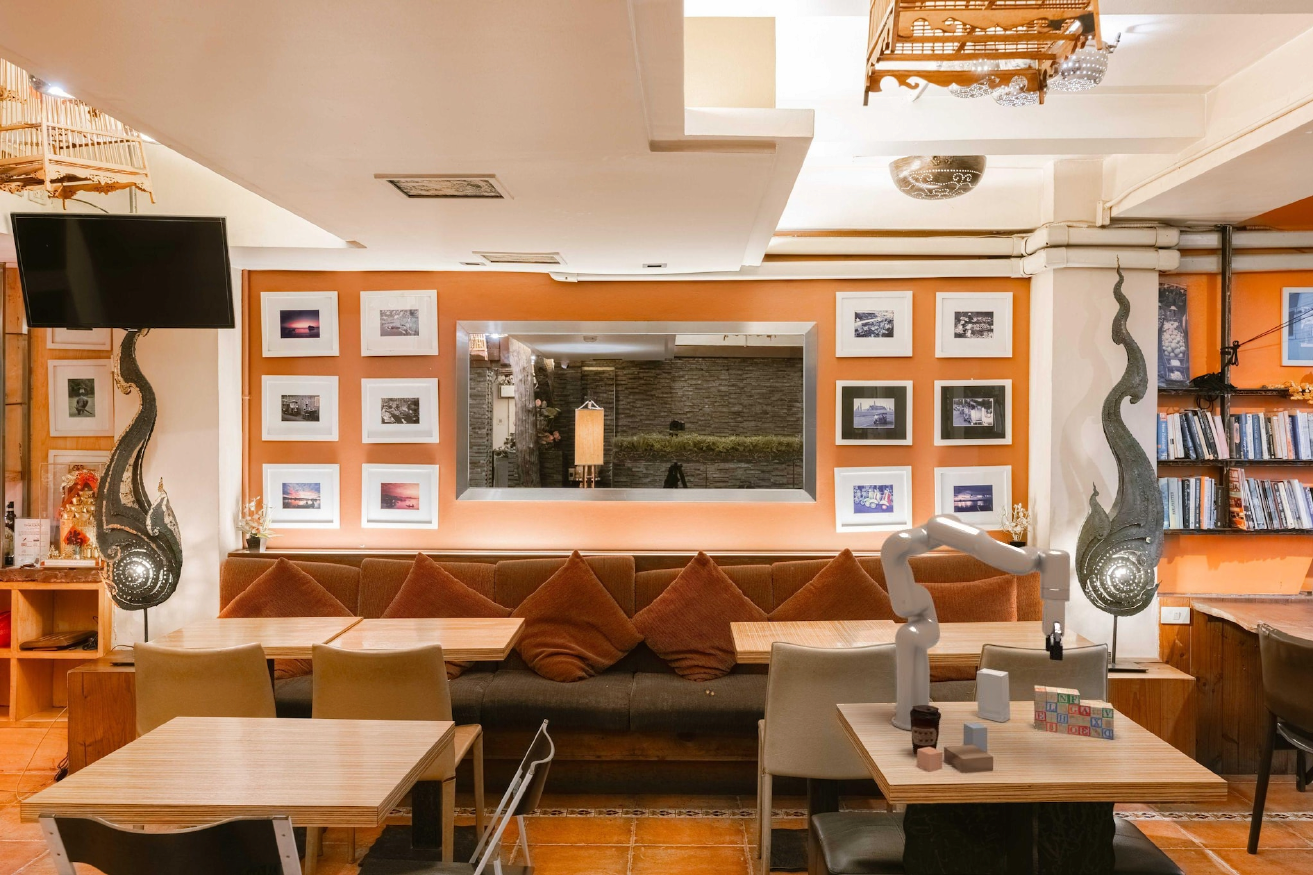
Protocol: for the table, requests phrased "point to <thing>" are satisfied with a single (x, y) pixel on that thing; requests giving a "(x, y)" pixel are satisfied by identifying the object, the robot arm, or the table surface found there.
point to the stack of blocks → (1071, 713)
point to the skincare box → (993, 695)
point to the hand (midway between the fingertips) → (1053, 655)
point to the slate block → (975, 735)
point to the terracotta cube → (929, 758)
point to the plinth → (968, 758)
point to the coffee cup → (924, 726)
